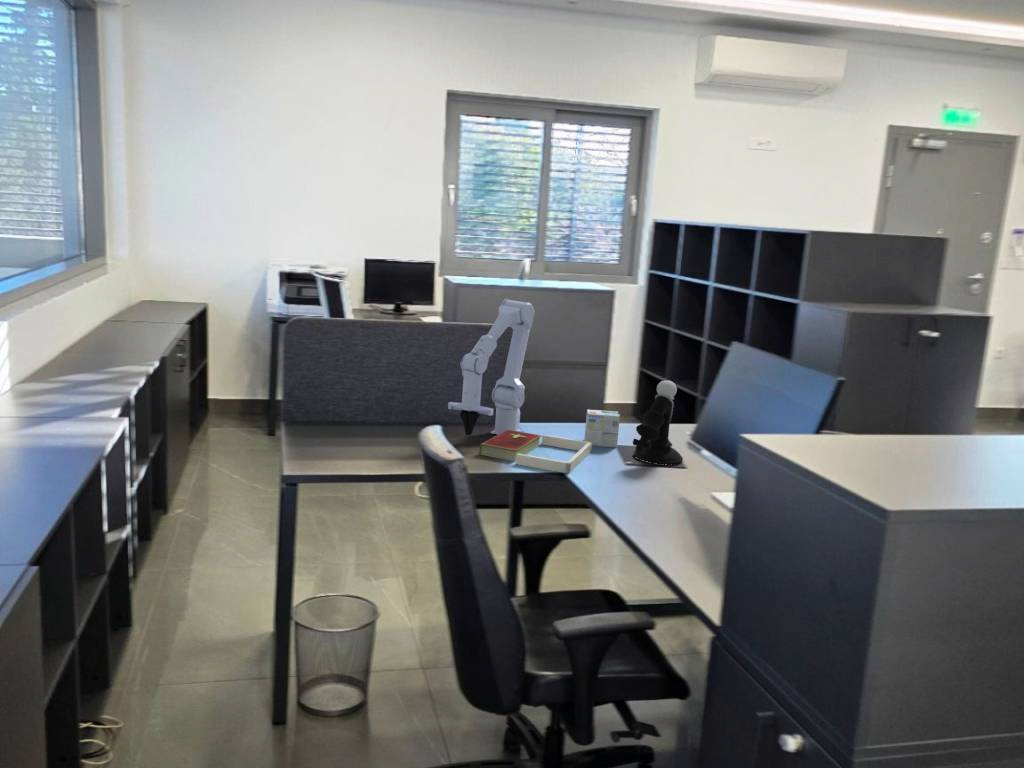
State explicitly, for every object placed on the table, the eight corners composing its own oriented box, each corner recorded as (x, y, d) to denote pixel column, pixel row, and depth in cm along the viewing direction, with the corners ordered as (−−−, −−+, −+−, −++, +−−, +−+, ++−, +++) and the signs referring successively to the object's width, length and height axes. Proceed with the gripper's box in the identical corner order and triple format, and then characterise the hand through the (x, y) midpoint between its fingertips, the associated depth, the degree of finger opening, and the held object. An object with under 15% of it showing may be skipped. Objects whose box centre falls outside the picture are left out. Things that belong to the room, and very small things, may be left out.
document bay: (542, 443, 276) (543, 434, 276) (591, 451, 271) (592, 442, 271) (516, 464, 252) (516, 454, 251) (569, 473, 247) (570, 463, 246)
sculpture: (689, 458, 272) (699, 382, 267) (659, 475, 252) (669, 392, 247) (645, 448, 280) (653, 373, 275) (613, 463, 260) (621, 383, 255)
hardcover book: (478, 456, 258) (479, 442, 258) (505, 440, 278) (506, 428, 277) (515, 463, 254) (516, 449, 253) (540, 447, 273) (541, 434, 273)
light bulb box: (615, 442, 284) (618, 411, 282) (617, 448, 278) (620, 416, 276) (583, 440, 285) (586, 408, 282) (584, 445, 278) (587, 413, 276)
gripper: (445, 390, 265) (442, 433, 268) (489, 397, 261) (485, 440, 264) (454, 387, 272) (451, 428, 275) (497, 393, 268) (493, 435, 270)
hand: (468, 434), depth 270 cm, fingers closed
